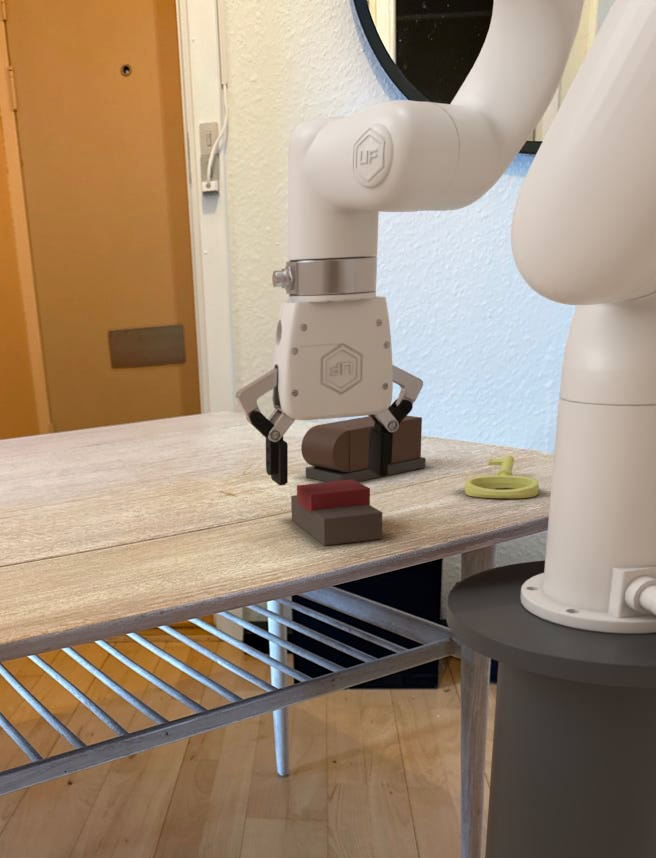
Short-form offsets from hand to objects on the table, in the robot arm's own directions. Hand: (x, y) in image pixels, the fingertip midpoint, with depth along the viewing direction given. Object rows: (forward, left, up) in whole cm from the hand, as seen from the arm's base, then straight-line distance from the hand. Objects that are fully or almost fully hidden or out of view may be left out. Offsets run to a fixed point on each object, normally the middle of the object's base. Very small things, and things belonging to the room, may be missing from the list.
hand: (328, 477), depth 86 cm
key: (+8, -22, -5) cm, 24 cm away
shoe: (+22, -12, -5) cm, 26 cm away
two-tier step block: (-1, 0, -5) cm, 5 cm away
